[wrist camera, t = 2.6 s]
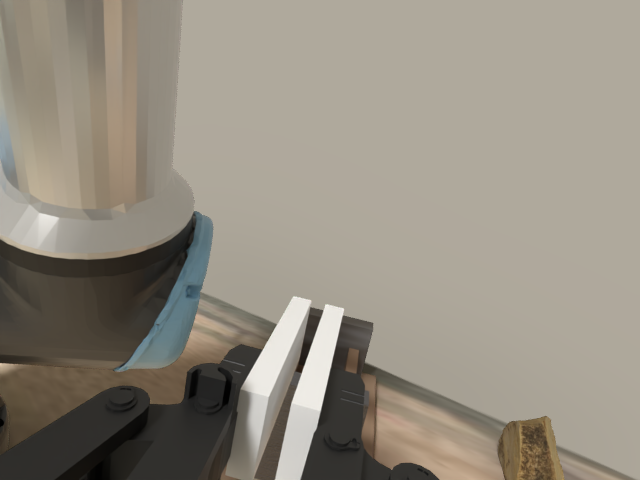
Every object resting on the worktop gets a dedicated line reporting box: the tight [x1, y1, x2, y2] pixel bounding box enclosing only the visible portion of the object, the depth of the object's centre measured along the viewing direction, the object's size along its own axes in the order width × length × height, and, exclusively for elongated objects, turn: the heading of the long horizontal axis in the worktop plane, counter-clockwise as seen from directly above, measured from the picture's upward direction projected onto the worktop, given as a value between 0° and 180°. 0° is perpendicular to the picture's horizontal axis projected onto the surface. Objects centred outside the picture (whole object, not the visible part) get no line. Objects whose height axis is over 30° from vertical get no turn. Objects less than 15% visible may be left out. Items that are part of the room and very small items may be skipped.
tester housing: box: [220, 307, 376, 480], centre depth 41 cm, size 24×14×8 cm, turn 172°
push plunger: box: [253, 371, 369, 480], centre depth 32 cm, size 8×8×12 cm
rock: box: [498, 416, 564, 480], centre depth 40 cm, size 11×9×10 cm
